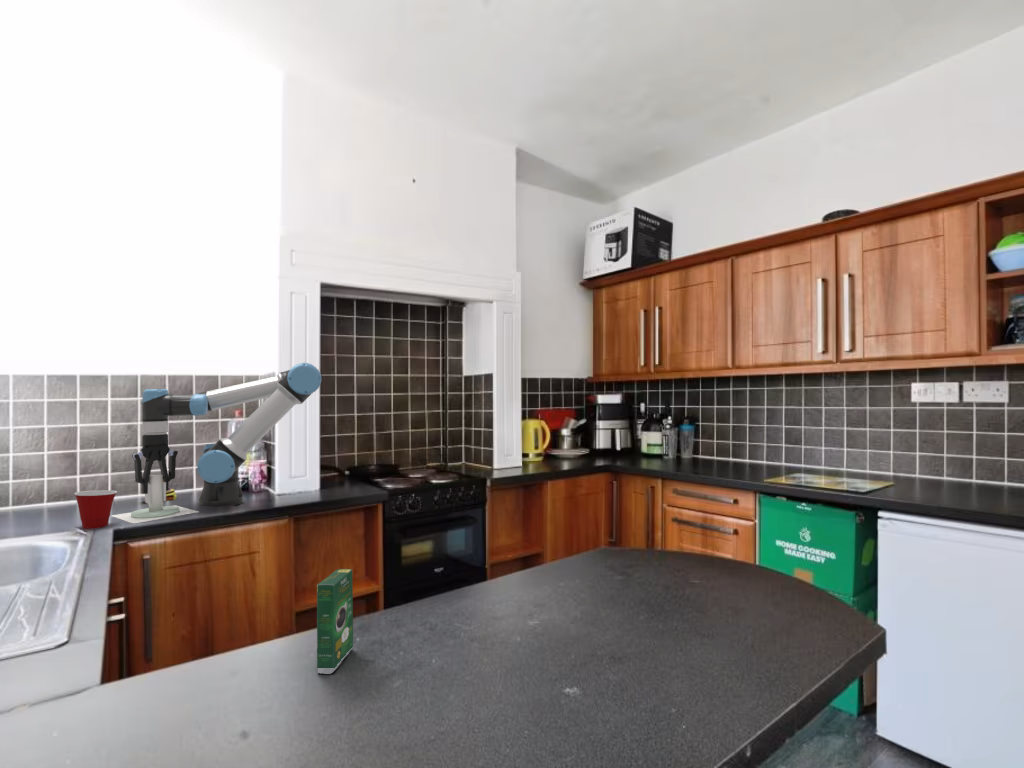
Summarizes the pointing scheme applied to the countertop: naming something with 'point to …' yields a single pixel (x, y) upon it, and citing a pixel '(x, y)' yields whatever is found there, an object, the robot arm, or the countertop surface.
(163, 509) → the lid
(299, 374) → the robot arm
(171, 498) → the cheeseburger
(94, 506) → the plastic cup
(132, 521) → the mat
